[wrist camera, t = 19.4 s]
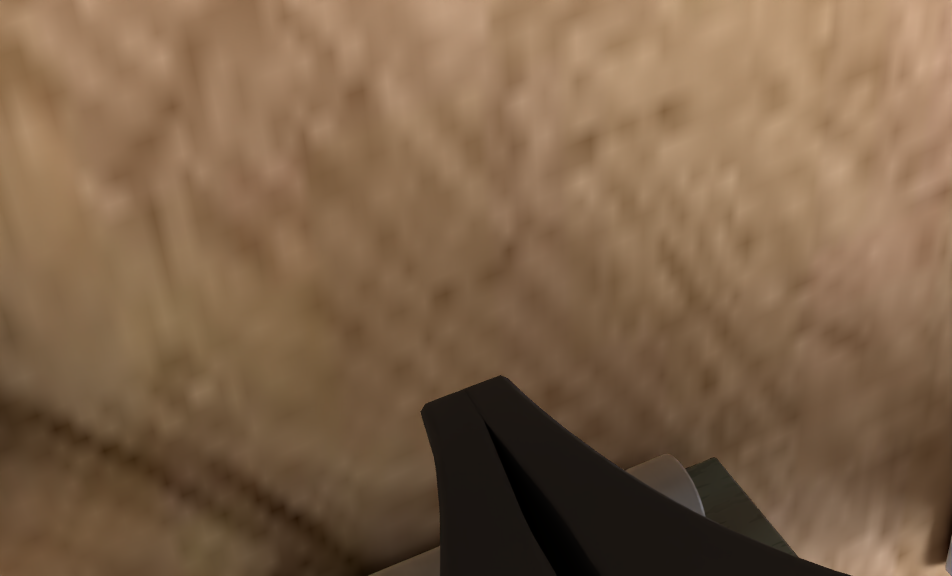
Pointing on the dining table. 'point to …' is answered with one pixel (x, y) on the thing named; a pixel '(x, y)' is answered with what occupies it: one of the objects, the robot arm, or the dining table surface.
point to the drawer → (692, 487)
